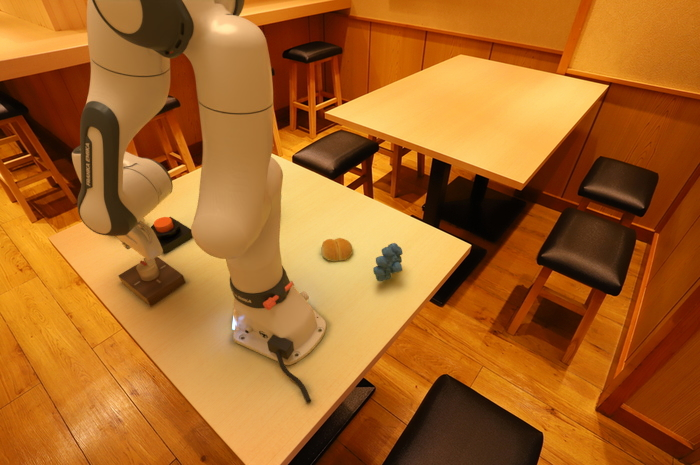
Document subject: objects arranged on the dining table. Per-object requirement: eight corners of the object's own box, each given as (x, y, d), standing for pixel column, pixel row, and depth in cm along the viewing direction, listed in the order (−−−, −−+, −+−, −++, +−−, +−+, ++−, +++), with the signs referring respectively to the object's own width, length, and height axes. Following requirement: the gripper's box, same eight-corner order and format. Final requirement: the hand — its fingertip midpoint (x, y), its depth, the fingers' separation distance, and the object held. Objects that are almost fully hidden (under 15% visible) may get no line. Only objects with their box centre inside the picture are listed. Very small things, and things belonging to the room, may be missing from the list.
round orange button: (177, 226, 110) (175, 220, 108) (162, 234, 107) (160, 229, 105) (167, 220, 112) (165, 214, 110) (152, 228, 109) (150, 222, 107)
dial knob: (163, 273, 96) (158, 263, 94) (147, 283, 94) (142, 273, 91) (153, 266, 98) (148, 256, 96) (137, 276, 96) (132, 265, 93)
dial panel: (185, 282, 98) (182, 274, 96) (150, 306, 92) (146, 298, 90) (157, 262, 104) (153, 253, 102) (122, 283, 98) (117, 275, 96)
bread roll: (354, 260, 106) (354, 250, 103) (322, 263, 105) (322, 253, 102) (349, 241, 112) (350, 231, 109) (320, 244, 111) (319, 234, 108)
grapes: (387, 299, 95) (391, 265, 87) (366, 286, 98) (368, 253, 91) (411, 273, 102) (417, 240, 94) (390, 262, 105) (394, 229, 98)
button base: (194, 236, 113) (190, 225, 110) (164, 254, 106) (159, 242, 103) (172, 223, 117) (168, 211, 115) (143, 239, 111) (137, 227, 108)
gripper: (160, 220, 80) (176, 266, 89) (109, 187, 89) (129, 232, 98) (132, 235, 76) (152, 281, 85) (82, 199, 85) (105, 244, 94)
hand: (139, 255), depth 92 cm, fingers open, 8 cm apart
